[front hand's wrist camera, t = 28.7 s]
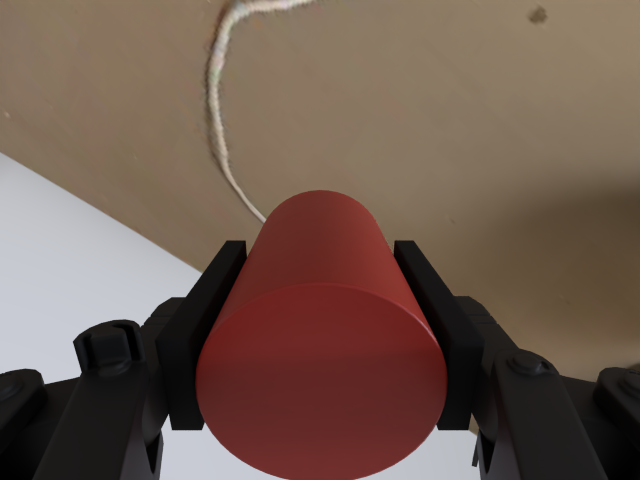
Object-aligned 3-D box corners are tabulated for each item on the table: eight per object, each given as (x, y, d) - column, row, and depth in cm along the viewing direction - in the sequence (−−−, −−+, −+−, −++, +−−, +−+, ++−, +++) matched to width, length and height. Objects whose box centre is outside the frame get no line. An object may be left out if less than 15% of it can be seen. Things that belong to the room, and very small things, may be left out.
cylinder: (232, 242, 17) (139, 381, 8) (330, 162, 15) (344, 226, 7) (311, 325, 18) (304, 515, 10) (406, 259, 17) (496, 411, 8)
